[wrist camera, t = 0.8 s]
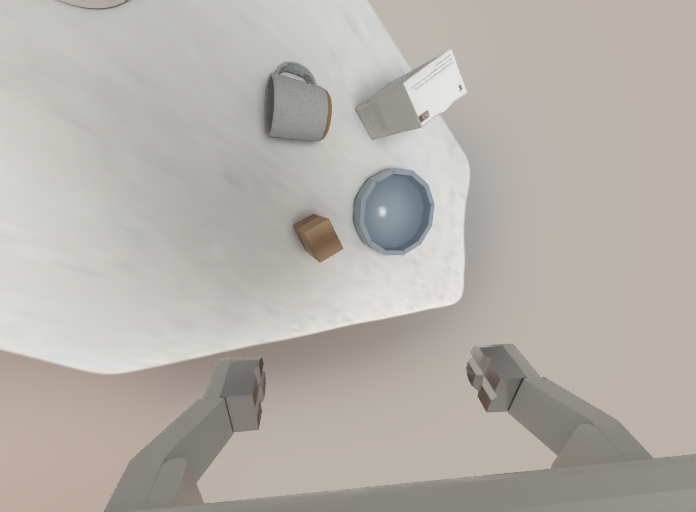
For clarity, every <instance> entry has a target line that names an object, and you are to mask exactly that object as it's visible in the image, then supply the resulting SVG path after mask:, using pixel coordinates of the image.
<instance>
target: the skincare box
mask: <svg viewBox="0 0 696 512" xmlns="http://www.w3.org/2000/svg"><path fill="white" fill-rule="evenodd" d="M466 93H467V91H466V88H465V86H464V83H463V80H462V77H461V75H460V72H459V70H458V67H457V64H456V61H455V58H454V55H453V52H452V50H451V49H449V50H448V51H446V52H445V53H443V54H441V55H439V56H438V57H436V58H434V59H432V60H431V61H429V62H427V63H425V64H423V65H422V66H420V67H418V68H416V69H414V70H412V71H411V72H409V73H407V74H405V75H404V76H402V77H400V78H398V79H396V80H395V81H393V82H391V83H389V84H388V85H387V86H386V87H385V88H383V89H382V90H381V91H380V92H378V93H377V94H376V95H374V96H373V97H371V98H370V99H368V100H367V101H365V102H364V103H362V104H361V105H359V106H357V107H356V111H357V112H358V114H359V116H360V118H361V120H362V122H363V124H364V126H365V127H366V129H367V131H368V133H369V135H370V137H371V139H376V138H380V137H384V136H388V135H392V134H396V133H400V132H404V131H408V130H413V129H417V128H421V127H423V126H424V125H425V124H427V123H428V122H429V121H430V120H432V119H433V118H434V117H436V116H437V115H438V114H439V113H441V112H444V111H445V110H447V109H448V108H449V106H450V105H451V104H452V103H454V102H455V101H456V100H458V99H459V98H461V97H462V96H464V95H465V94H466Z"/></svg>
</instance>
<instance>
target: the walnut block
mask: <svg viewBox="0 0 696 512" xmlns="http://www.w3.org/2000/svg"><path fill="white" fill-rule="evenodd" d="M292 226H293V228H294V229H295V231H296V233H297V235H298V237H299V239H300V241H301V242H302V244H303V246H304V248H305V250H306V251H307V252H308V253H309V254H310V255H311V256H313V257H314V258H315V259H316V260H318V261H319V262H322V261H324V260H325V259H327V258H329V257H330V256H332V255H334V254H335V253H337V252H339V251H340V250H342V249H343V247H342V245H341V243H340V241H339V239H338V237H337V235H336V233H335V231H334V228H333V226H332V224H331V222H330V220H329V219H328V218H325V217H322V216H318V215H315V214H313V215H311V216H309V217H307V218H305V219H303V220H302V221H300V222H298V223H296V224H294V225H292Z"/></svg>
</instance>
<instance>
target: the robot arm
mask: <svg viewBox="0 0 696 512" xmlns="http://www.w3.org/2000/svg"><path fill="white" fill-rule="evenodd" d="M60 1H62V2H65V3H68V4H71V5H75V6H80V7H85V8H107V7H112V6H116V5H119V4H121V3H123V2H125V1H127V0H60ZM471 354H472V356H473V357H472V358H471V359H470V360H469V361H468V363H467V367H466V369H467V376H468V379H469V381H470V383H471V385H472V386H473V387H474V388H476V389H477V390H478V398H479V399H480V402H481V403H482V405H483V407H484V409H485V410H486V412H503V411H508V413H509V414H510V415H512V416H513V417H514V418H515V419H516V420H517V421H518V422H520V423H521V424H522V425H523V426H524V427H525V428H526V429H528V430H529V431H530V432H531V433H532V434H534V435H535V436H536V437H537V438H538V439H539V440H541V442H543V443H544V444H545V445H546V446H547V447H548V448H550V449H551V450H552V451H553V452H554V453H555V454H556V455H558V456H557V458H556V459H555V461H554V462H553V464H552V467H551V469H545V470H535V471H525V472H514V473H504V474H494V475H484V476H474V477H464V478H454V479H444V480H434V481H425V482H414V483H404V484H395V485H385V486H375V487H366V488H355V489H345V490H335V491H325V492H315V493H305V494H296V495H285V496H276V497H266V498H256V499H246V500H236V501H227V502H216V503H206V504H204V502H203V499H202V497H201V494H200V492H199V489H198V487H197V484H196V482H197V481H198V480H199V479H200V477H201V476H202V475H203V473H204V472H205V471H206V469H207V468H208V467H209V465H210V464H211V463H212V461H213V460H214V459H215V458H216V456H217V455H218V454H219V452H220V451H221V450H222V448H223V447H224V446H225V444H226V443H227V442H228V440H229V439H230V438H231V436H232V435H233V432H241V431H250V430H258V429H259V425H260V419H261V413H262V409H261V402H262V401H263V400H264V396H265V386H266V382H265V381H266V378H265V372H263V371H262V370H263V365H264V363H263V358H262V357H244V358H220V359H218V361H217V362H216V364H215V367H214V370H213V373H212V375H211V378H210V381H209V383H208V386H207V388H206V391H205V393H204V396H203V399H198V400H197V401H196V402H195V403H193V404H192V405H191V406H190V407H189V408H188V409H187V410H186V411H184V412H183V413H182V414H181V415H180V416H179V417H178V418H177V419H176V420H175V421H173V422H172V423H171V424H170V425H169V426H168V427H167V428H166V429H165V430H163V431H162V433H160V434H159V435H158V436H157V437H156V438H155V439H154V440H152V442H150V443H149V444H148V445H147V446H146V447H145V448H144V449H142V450H141V451H140V452H139V453H138V454H137V455H136V456H135V457H134V458H133V459H132V460H130V462H129V464H128V466H127V468H126V470H125V472H124V473H123V475H122V477H121V479H120V481H119V483H118V485H117V487H116V489H115V491H114V493H113V495H112V497H111V499H110V501H109V503H108V504H107V506H106V508H105V510H104V512H696V454H693V455H682V456H673V457H663V458H653V457H652V456H651V455H650V454H649V453H648V452H647V451H646V450H645V448H643V446H642V445H641V444H640V443H639V442H638V441H637V440H636V439H635V438H634V437H633V436H632V435H631V434H630V433H629V432H628V431H627V430H626V429H625V427H624V426H623V425H622V424H621V423H620V422H619V421H618V420H616V419H615V418H613V417H611V416H609V415H608V414H606V413H604V412H603V411H601V410H599V409H598V408H596V407H594V406H592V405H591V404H589V403H587V402H586V401H584V400H582V399H581V398H579V397H577V396H576V395H574V394H572V393H571V392H569V391H567V390H565V389H564V388H562V387H560V386H559V385H557V384H555V383H554V382H552V381H550V380H549V379H547V378H545V377H540V376H539V374H538V373H537V372H536V371H535V370H534V368H533V367H532V366H531V365H530V364H529V362H528V361H527V360H526V359H525V358H524V356H523V355H522V354H521V353H520V351H519V350H518V349H517V348H516V347H515V346H514V345H513V344H501V345H482V346H474V347H473V348H472V351H471Z"/></svg>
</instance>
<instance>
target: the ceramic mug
mask: <svg viewBox="0 0 696 512" xmlns="http://www.w3.org/2000/svg"><path fill="white" fill-rule="evenodd" d="M284 71H285V72H286V71H288V72H291V73H294V74H297V75H299V76H301V77H304V78H305V79H306V80H307V82H308V83H306V82H302V81H298V80H295V79H292V78H289V77H285V76H282V75H279V74H280V73H281V72H284ZM331 113H332V106H331V98H330V95H329V94H328V92H327V91H326V90H325V89H323V88H321V87H319V86H317V85H316V82H315V79H314V77H313V75H312V74H311V72H310V71H309V70H308V69H306V68H305V67H304V66H302V65H300V64H297V63H294V62H284V63H282V64H281V65H280V66H278V68H277V70H276V72H275V74H274V73H271V74H270V75H269V78H268V82H267V87H266V94H265V109H264V114H265V118H264V119H265V129H266V133H267V135H268V136H271V137H279V138H287V139H297V140H304V141H320V140H322V139H323V138H324V137H325V136H326V134H327V132H328V129H329V126H330V121H331Z"/></svg>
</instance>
